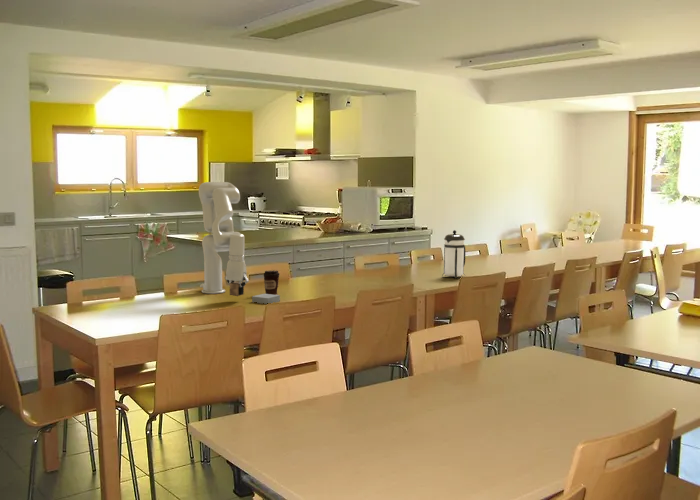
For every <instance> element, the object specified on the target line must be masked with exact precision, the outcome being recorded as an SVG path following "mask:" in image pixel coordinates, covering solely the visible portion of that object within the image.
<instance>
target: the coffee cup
mask: <svg viewBox="0 0 700 500" xmlns="http://www.w3.org/2000/svg"><path fill="white" fill-rule="evenodd" d="M263 278H264V279H263V283H264V291H265V293H264V294H272V295H279V294H278V288H279V279H280V272H279V270H275V269H274V270H273V269H272V270H265V271H264V273H263Z"/></svg>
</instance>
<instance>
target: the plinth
mask: <svg viewBox="0 0 700 500" xmlns="http://www.w3.org/2000/svg"><path fill="white" fill-rule="evenodd" d="M251 300H252V301H251V303H254V302H257V303H256V304H263V303H264V304H265V305H268V304H267V303H271V304H274V303H273V302H275V303H278V302H280V301H281V295H279V294H278V295H272V294H265V293H260V294H256V295H252V297H251Z"/></svg>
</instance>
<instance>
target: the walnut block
mask: <svg viewBox="0 0 700 500" xmlns="http://www.w3.org/2000/svg"><path fill="white" fill-rule="evenodd" d="M239 287H240V286H239V282H238V281H234V282H233V283H230V285H229V296H232V297H233V296H234V297H239V296H243V295H244V293H245V292H243V294H241V295H239Z"/></svg>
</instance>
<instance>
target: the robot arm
mask: <svg viewBox="0 0 700 500" xmlns="http://www.w3.org/2000/svg"><path fill="white" fill-rule="evenodd" d="M198 197H199V199H200V200H199V201H200V203H201V206H202V207H201V208H202V218H203V219H202V220H203V228H204V231H206V232H208V233H211V234H207V235H205V236H203V238H202V239H201V240H202V241H201V244H202V245H201V246H202V251H203V265H204V266H203V267H204V268H203V269H204V273H203V274H204V275H203V279H204V283H201V284H199V287H200V288H202V289H201V293H203V294H208V295H210V294H211V295H212V294H213V295H214V294H222V293H225V292H226V289H225V288H223V260H222V257H221V256H220V255H219V254H218V253H219V252H220V253H221V252H229V253H228V255H227V257H228V259H229V260H227V264H226V273H225V277H224V279H225V280H226V282H227V283H228V285H229V286H230V283H233V282H239V286H240V287H239V295H240V296H242V295H241V294H243V292H244V291H245V286H246V285H247V284H248V283H249V278H248V277H247V273H248V272H247V265H246V261H245V242H246V241H245V239H246V238H245V235H244V234H243V233H241V232H239V231H234V221H233V216H234V210H233V206H232V204H239V202H240V200H241V194H240V191H239V189H238V188H237V186H235V185H234V184H233V183H231V182H228V181H205V182H202V183H200V184H199V187H198ZM244 293H245V292H244Z"/></svg>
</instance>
